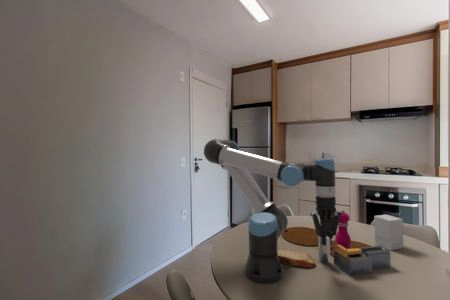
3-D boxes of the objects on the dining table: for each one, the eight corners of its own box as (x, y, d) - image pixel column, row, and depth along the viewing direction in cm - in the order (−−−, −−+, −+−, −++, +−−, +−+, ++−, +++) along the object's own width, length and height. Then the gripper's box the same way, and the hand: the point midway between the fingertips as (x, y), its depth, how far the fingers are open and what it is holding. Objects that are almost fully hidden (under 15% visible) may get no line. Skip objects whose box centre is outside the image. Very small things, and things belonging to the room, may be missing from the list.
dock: (350, 276, 89) (349, 258, 89) (333, 263, 99) (333, 247, 99) (395, 270, 93) (395, 253, 93) (375, 258, 102) (375, 243, 102)
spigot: (321, 264, 98) (321, 234, 98) (315, 258, 103) (314, 230, 103) (332, 263, 99) (331, 233, 99) (325, 257, 104) (324, 229, 104)
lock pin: (345, 257, 91) (344, 250, 91) (336, 251, 96) (336, 244, 96) (364, 255, 93) (364, 247, 93) (355, 249, 98) (355, 243, 98)
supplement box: (404, 248, 112) (404, 218, 112) (391, 251, 110) (390, 220, 110) (386, 241, 121) (386, 213, 121) (374, 243, 118) (373, 215, 118)
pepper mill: (334, 250, 111) (334, 210, 111) (335, 244, 118) (334, 206, 118) (351, 253, 108) (350, 212, 108) (351, 247, 114) (350, 208, 114)
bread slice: (263, 256, 108) (263, 248, 108) (294, 249, 114) (294, 242, 114) (285, 275, 91) (285, 266, 91) (320, 267, 97) (320, 258, 97)
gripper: (316, 198, 88) (317, 258, 88) (345, 196, 90) (347, 255, 90) (306, 194, 95) (307, 250, 95) (333, 193, 97) (334, 247, 97)
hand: (326, 252), depth 92 cm, fingers closed
